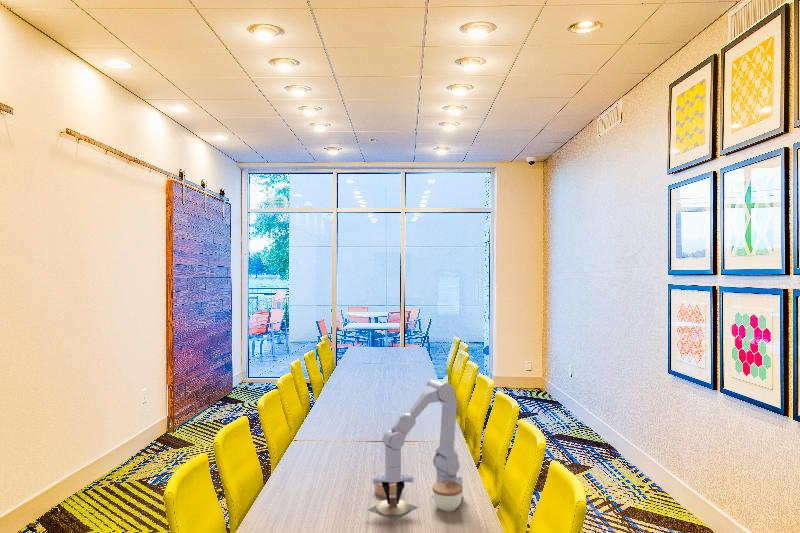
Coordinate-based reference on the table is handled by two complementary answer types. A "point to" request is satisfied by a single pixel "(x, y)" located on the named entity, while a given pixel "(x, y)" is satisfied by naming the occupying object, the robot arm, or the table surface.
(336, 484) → the table surface
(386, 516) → the mat
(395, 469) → the robot arm
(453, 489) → the lidded jar
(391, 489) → the bowl
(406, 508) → the lid
